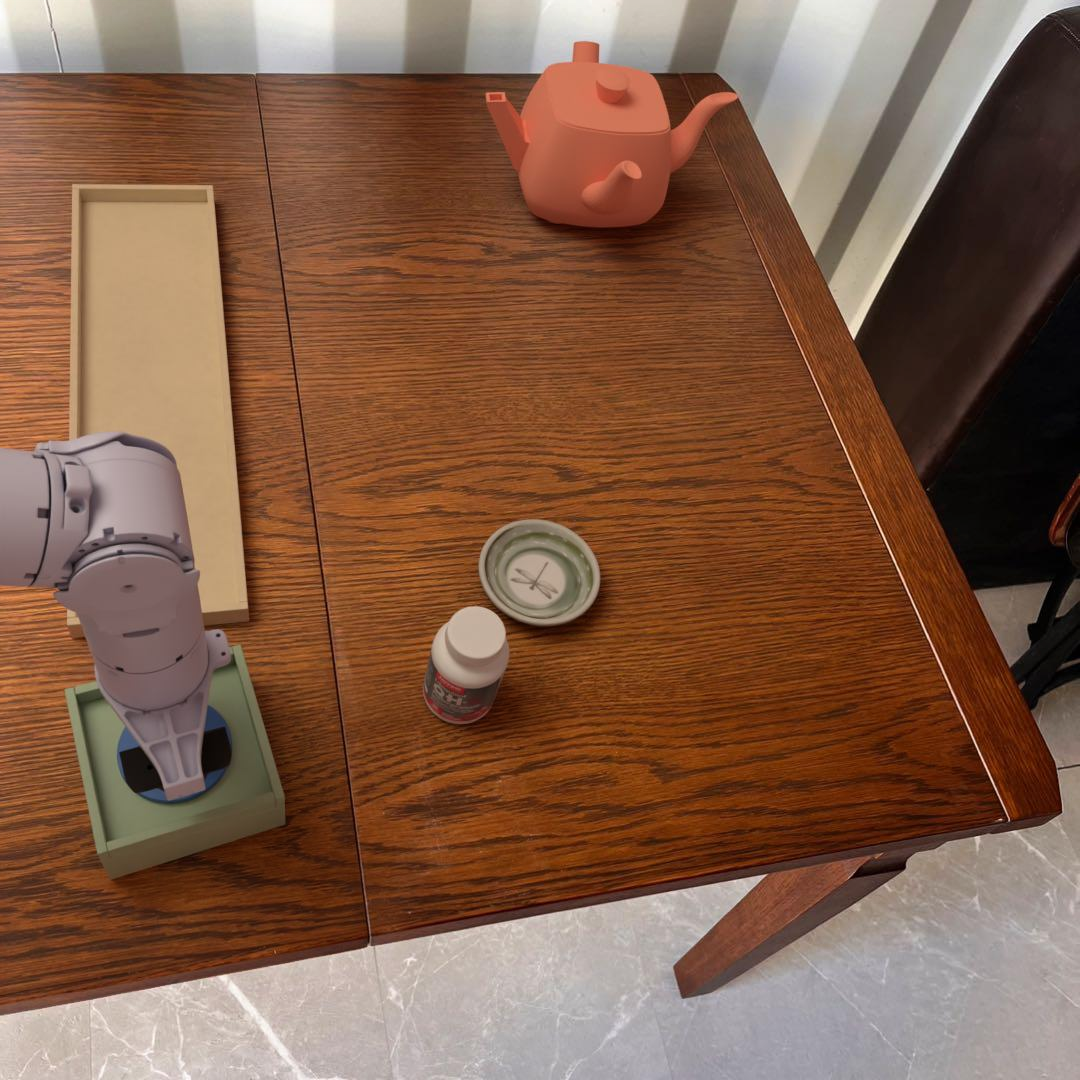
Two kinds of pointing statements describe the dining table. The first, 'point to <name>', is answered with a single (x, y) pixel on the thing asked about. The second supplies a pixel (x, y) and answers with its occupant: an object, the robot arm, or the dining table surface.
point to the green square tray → (189, 827)
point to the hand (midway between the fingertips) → (170, 727)
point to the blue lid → (211, 780)
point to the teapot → (597, 141)
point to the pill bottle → (466, 665)
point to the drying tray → (160, 359)
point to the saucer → (539, 572)
